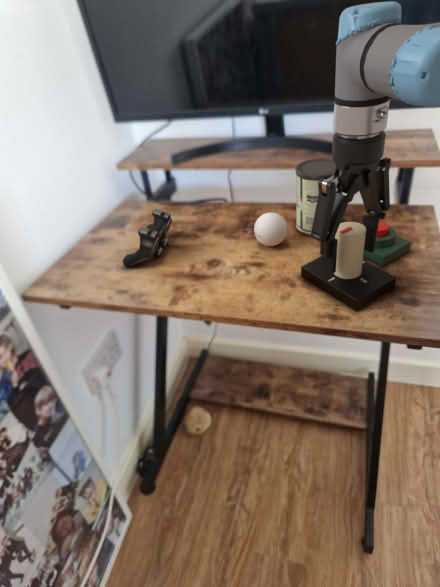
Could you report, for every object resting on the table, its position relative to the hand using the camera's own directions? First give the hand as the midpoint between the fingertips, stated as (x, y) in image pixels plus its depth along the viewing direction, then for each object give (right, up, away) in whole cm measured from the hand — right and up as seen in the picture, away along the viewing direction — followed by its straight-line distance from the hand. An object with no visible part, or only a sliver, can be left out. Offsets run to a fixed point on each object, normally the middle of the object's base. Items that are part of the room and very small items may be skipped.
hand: (348, 259), depth 73 cm
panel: (+1, -4, +3) cm, 5 cm away
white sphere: (-13, +5, +18) cm, 23 cm away
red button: (+9, +6, +9) cm, 14 cm away
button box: (+9, +3, +11) cm, 15 cm away
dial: (0, -2, +2) cm, 3 cm away
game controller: (-39, +4, +21) cm, 45 cm away
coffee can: (0, +10, +22) cm, 24 cm away
